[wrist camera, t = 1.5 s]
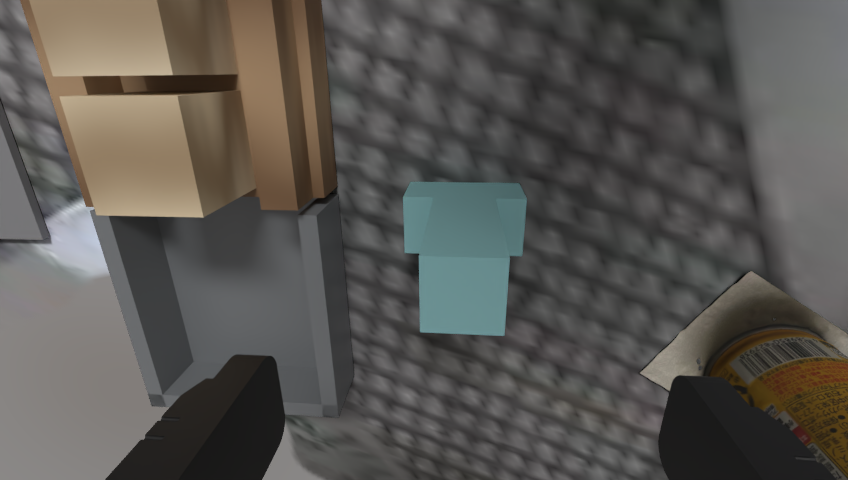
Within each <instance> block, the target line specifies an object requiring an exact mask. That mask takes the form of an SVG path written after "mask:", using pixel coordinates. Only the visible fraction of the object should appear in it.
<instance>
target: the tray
mask: <svg viewBox="0 0 848 480" xmlns="http://www.w3.org/2000/svg"><path fill="white" fill-rule="evenodd" d="M90 213H91V216H92V219H93V223H94V226H95V229H96V232H97V235H98V238H99V241H100V245H101V248H102V251H103V254H104V257H105V260H106V263H107V267H108V270H109V273H110V276H111V279H112V282H113V285H114V288H115V292H116V295H117V298H118V301H119V304H120V307H121V311H122V314H123V317H124V320H125V323H126V326H127V330H128V333H129V336H130V339H131V342H132V345H133V348H134V351H135V355H136V358H137V361H138V364H139V367H140V370H141V373H142V377H143V380H144V383H145V386H146V389H147V392H148V396H149V399H150V402H151V405H152V406H158V407H171V406H172V404H173V403H174V402H175V401H176V400H177V399H178V398H179V397H180V396H181V395H182V394H183V393H185V392H186V391H188V390H189V389H191V388H192V387H194V386H195V385H197V384H198V383H200V382H201V381H203V380H204V379H206V378H211V379H213V378H214V377H215V376H216V375H217V373H218V372H219V371H220V370H221V369H222V367H223V366H224V365H225V364H226V363H227V362H228V360H229V359H230V358H231V357H232V356H234V355H236V354H242V355H265V356H273V357H274V359H275V360H276V363H277V369H278V375H279V381H280V387H281V393H282V399H283V405H284V411H285V414H286V415H302V416H318V417H334V418H339V415H340V413H341V410H342V407H343V405H344V402H345V399H346V396H347V394H348V391H349V388H350V385H351V383H352V380H353V377H354V368H353V357H352V345H351V334H350V323H349V311H348V300H347V289H346V277H345V266H344V255H343V243H342V232H341V221H340V209H339V198H338V194H328V195H327V196H326V197H325V198H312V199H311V200H310V201H309V202H308V203H306V204H305V205H304V206H303V207H302V208H300V209H299V210H261V205H260V198H259V197H239V198H238V199H236V200H234V201H232V202H230V203H229V204H227V205H225V206H223V207H221V208H220V209H218V210H216V211H214V212H212V213H211V214H209V215H207V216H205V217H204V218H202V217H153V216H104V215H96V212H95V209H94V210H92V211H90Z"/></svg>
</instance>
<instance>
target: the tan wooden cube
mask: <svg viewBox="0 0 848 480" xmlns="http://www.w3.org/2000/svg"><path fill="white" fill-rule="evenodd" d="M29 1H30V4H31V8H32V11H33V14H34V17H35V20H36V24H37V27H38V30H39V33H40V36H41V40H42V43H43V46H44V49H45V52H46V56H47V59H48V62H49V65H50V68H51V72H52V75H53V76H142V75H224V74H238V72H237V66H236V59H235V53H234V47H233V41H232V35H231V28H230V22H229V16H228V10H227V4H226V0H29Z"/></svg>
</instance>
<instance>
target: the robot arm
mask: <svg viewBox="0 0 848 480" xmlns="http://www.w3.org/2000/svg"><path fill="white" fill-rule="evenodd" d="M284 425H285V411H284V405H283V399H282V393H281V387H280V381H279V375H278V369H277V363H276V360H275V359H274V357H273V356H265V355H242V354H236V355H234V356H232V357H231V358H230V359H229V360H228V362H227V363H226V364H225V365H224V366H223V367H222V369H221V370H220V371H219V372H218V373H217V375H216V376H215V377H214V378H213V379H211V378H206V379H204V380H203V381H201V382H200V383H198V384H197V385H195V386H194V387H192V388H191V389H189V390H188V391H186V392H185V393H183V394H182V395H181V396H180V397H179V398H178V399H177V400H176V401H175V402H174V403H173V404H172V406H171V407H170V408H169V409H168V410H167V411H166V412H165V413H164V415H163V416H162V419H161V421H157V423H155V425H154V426H153V427H152V428H151V429H150V430H149V431H148V432H147V434H146V435H145V439H144V440H140V441H139V442H138V444H137V445H136V446H135V447H134V448H133V449H132V450H131V451H130V453H129V454H128V455H127V456H126V457H125V458H124V459H123V460H122V461H121V463H120V464H119V465H118V466H117V467H116V468H115V469H114V470H113V471H112V473H111V474H110V475H109V476H108V477H107V478H106V480H262V478H263V477H264V475H265V472H266V471H267V469H268V467H269V465H270V463H271V461H272V459H273V457H274V455H275V453H276V451H277V448H278V447H279V444H280V442H281V439H282V436H283V432H284ZM659 453H660V459H661V462H662V466H663V468H664V471H665V473H666V475H667V477H668V479H669V480H837V479H836V478H835V477H834V476H833V475H832V474H831V472H830V471H829V470H828V469H827V468H826V467H825V466H824V465H823V464H822V463H820V462H817V461H816V456H815V455H814V454H813V453H812V452H811V451H810V450H809V449H808V448H807V447H806V446H805V445H804V443H803V442H802V441H801V440H800V439H799V438H798V437H797V436H796V435H795V434H794V433H793V432H792V431H791V430H790V429H789V428H787V427H786V426H784V425H783V424H782V423H780V422H779V421H777V420H776V419H774V418H773V417H771V416H770V415H769V414H767V413H766V412H764V411H763V410H761V409H760V408H758V407H750V406H749V404H748V403H747V402H746V401H745V400H744V399H743V398H742V396H741V395H740V394H739V393H738V392H737V391H736V390H735V388H734V387H733V386H732V385H731V384H730V383H729V382H728V381H727V380H726V379H724V378H722V377H708V376H685V375H679V376H676V377H675V378H674V379H673V381H672V384H671V388H670V392H669V396H668V400H667V405H666V409H665V413H664V417H663V421H662V425H661V430H660V434H659Z"/></svg>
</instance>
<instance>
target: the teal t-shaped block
mask: <svg viewBox="0 0 848 480" xmlns="http://www.w3.org/2000/svg"><path fill="white" fill-rule="evenodd" d="M526 205H527V198H526V196H525V194H524V192H523V190H522V188H521V186H520V184H519V183H469V182H410V184H409V186H408V188H407V190H406V192H405V194H404V196H403V214H404V248H405V253H419V298H420V332H425V333H448V334H471V335H494V336H504V334H505V320H506V306H507V292H508V278H509V264H510V257H509V256H522V253H523V241H524V229H525V217H526Z"/></svg>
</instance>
